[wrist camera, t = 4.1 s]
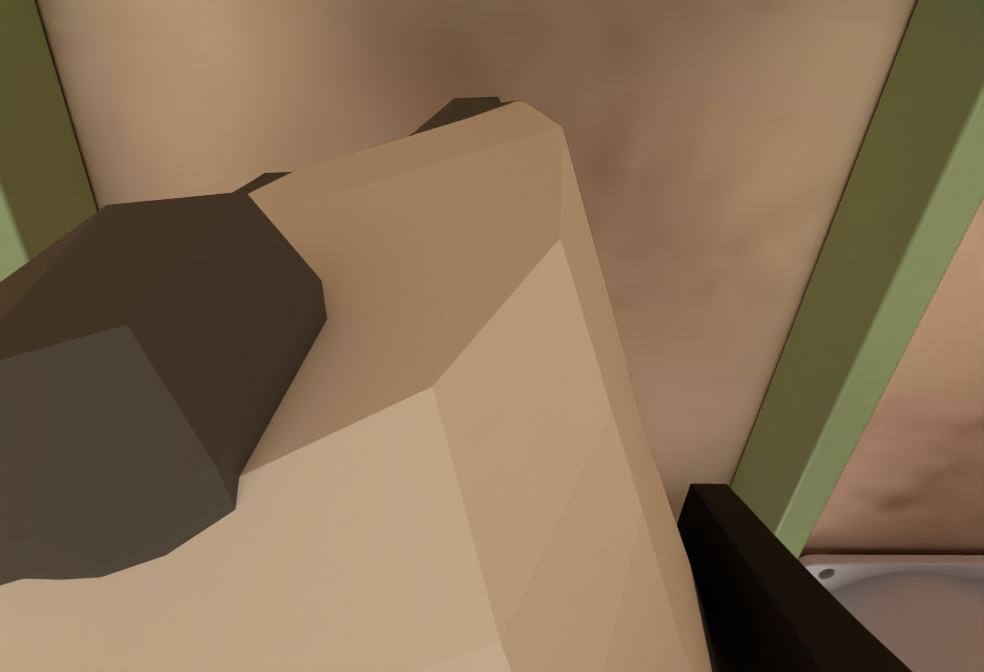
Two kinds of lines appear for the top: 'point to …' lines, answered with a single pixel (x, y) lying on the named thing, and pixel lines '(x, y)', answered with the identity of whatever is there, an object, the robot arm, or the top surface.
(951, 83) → the rim
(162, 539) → the giant panda
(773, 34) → the top surface
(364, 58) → the top surface
